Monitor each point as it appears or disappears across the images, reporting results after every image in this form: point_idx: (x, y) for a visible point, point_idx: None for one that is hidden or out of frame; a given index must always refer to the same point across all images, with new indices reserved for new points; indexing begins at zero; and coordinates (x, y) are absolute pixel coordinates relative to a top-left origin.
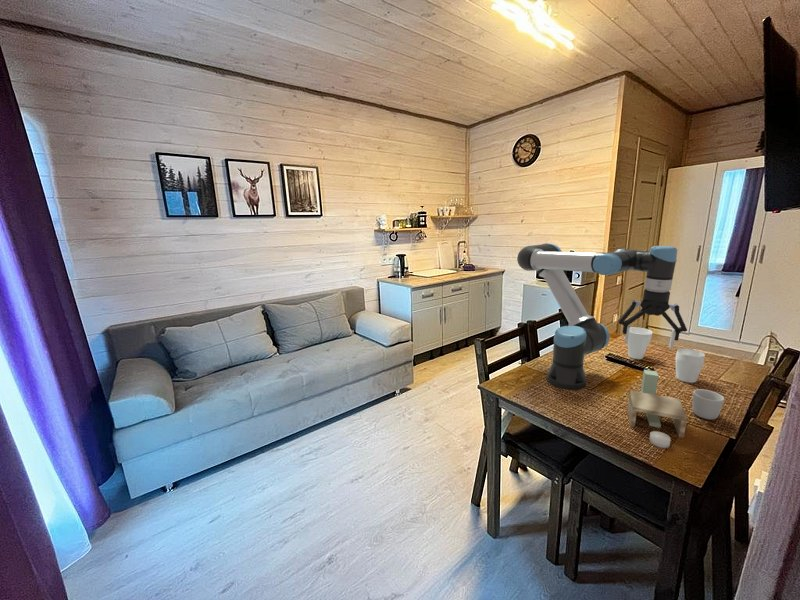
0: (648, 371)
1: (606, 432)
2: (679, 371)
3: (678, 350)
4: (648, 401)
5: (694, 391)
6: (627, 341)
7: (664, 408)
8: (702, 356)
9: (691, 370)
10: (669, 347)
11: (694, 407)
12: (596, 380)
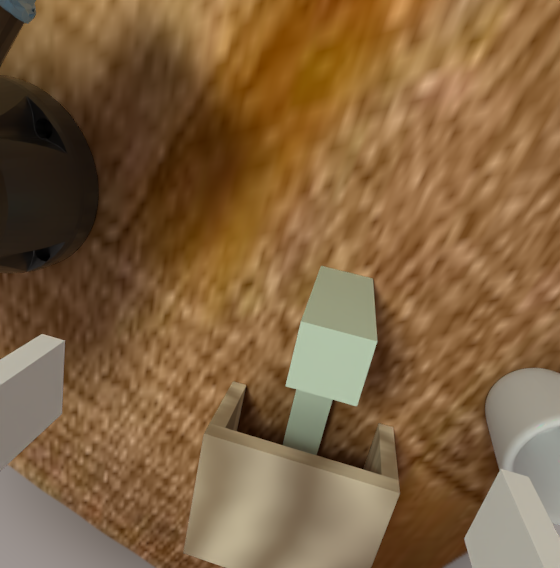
0: (320, 347)
1: (139, 517)
2: None
3: None
4: (254, 517)
5: (519, 448)
6: (44, 425)
7: (296, 560)
8: None
9: None
10: (483, 511)
11: (488, 425)
12: (150, 130)
